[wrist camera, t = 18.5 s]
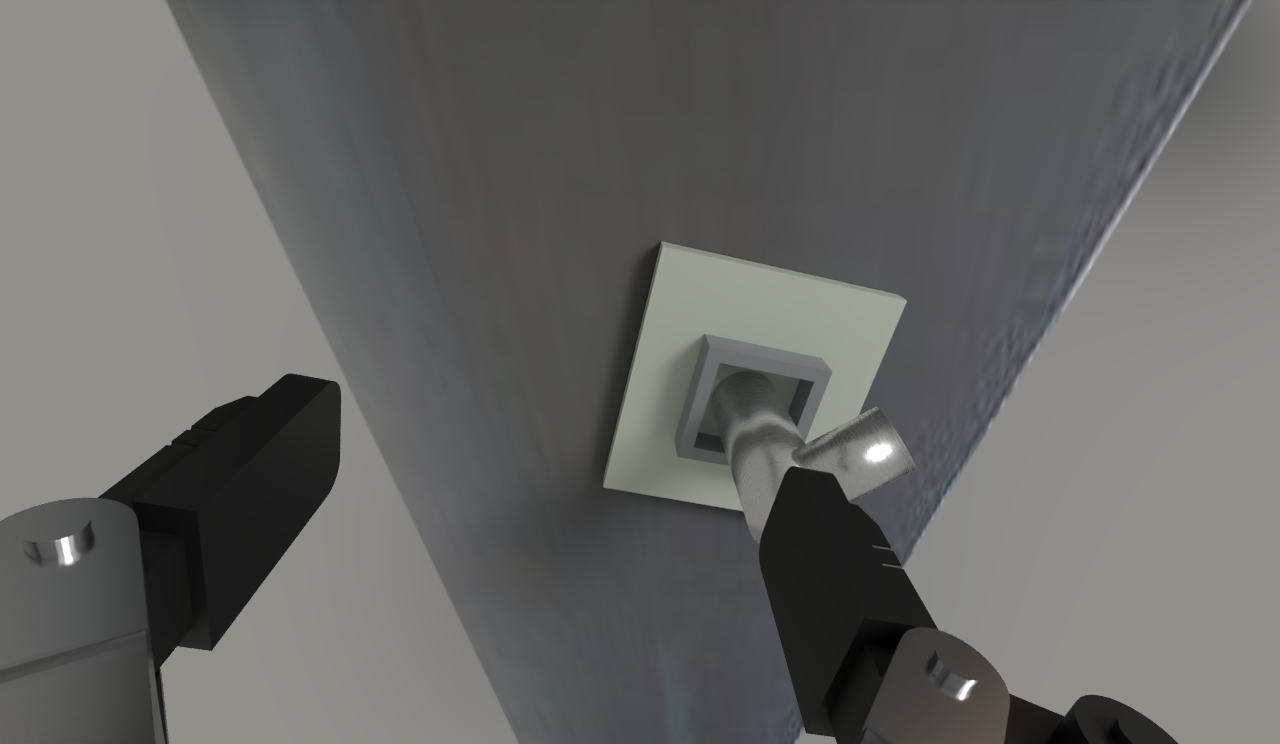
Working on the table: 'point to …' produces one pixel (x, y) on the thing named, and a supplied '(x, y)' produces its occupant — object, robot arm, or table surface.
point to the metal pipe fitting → (798, 447)
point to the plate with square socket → (738, 365)
